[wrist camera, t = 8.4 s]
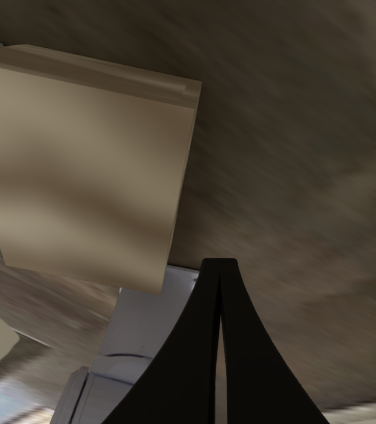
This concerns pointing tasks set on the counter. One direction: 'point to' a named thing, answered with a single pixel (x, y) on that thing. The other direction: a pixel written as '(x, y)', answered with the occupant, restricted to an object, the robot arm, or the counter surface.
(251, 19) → the counter surface
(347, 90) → the counter surface
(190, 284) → the robot arm
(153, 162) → the cabinet
